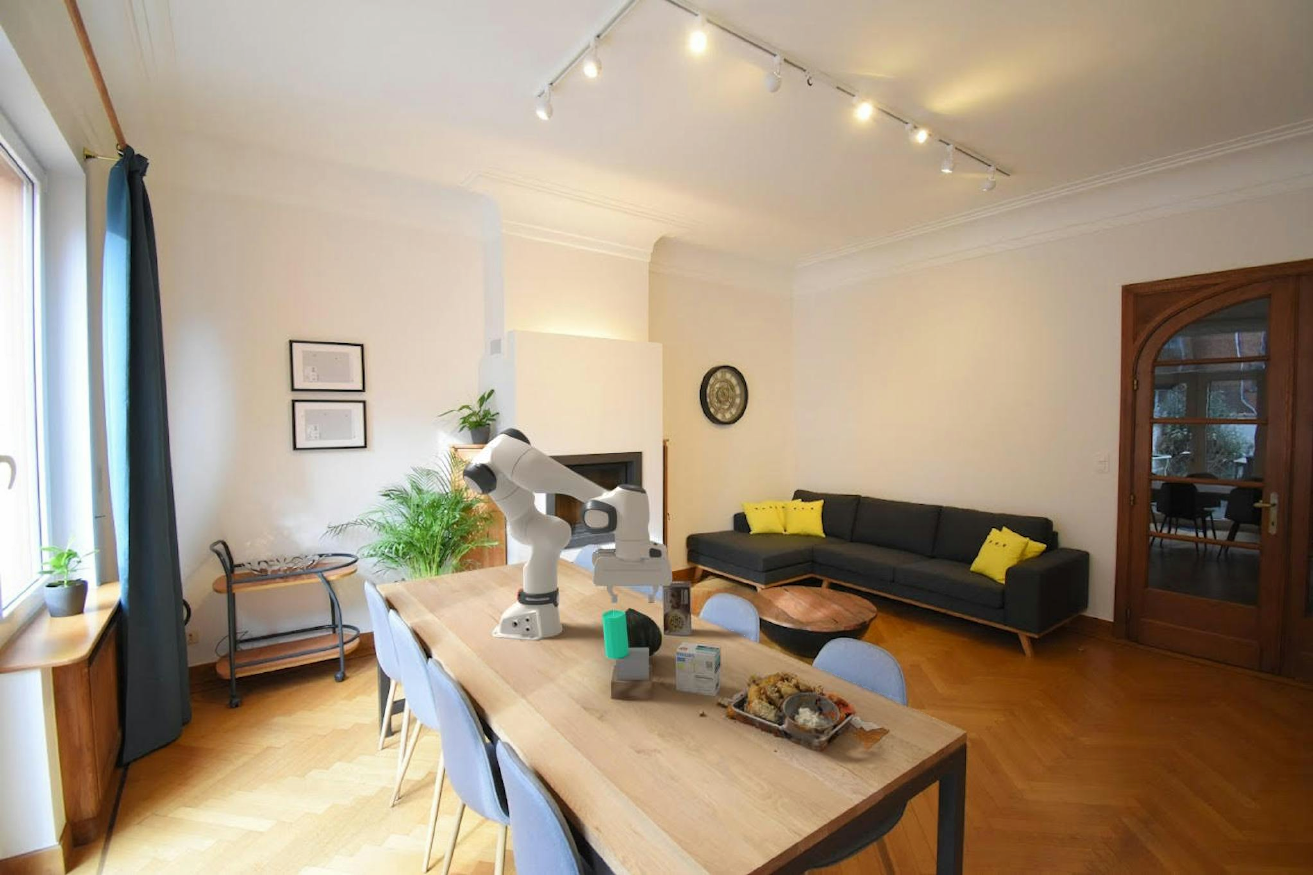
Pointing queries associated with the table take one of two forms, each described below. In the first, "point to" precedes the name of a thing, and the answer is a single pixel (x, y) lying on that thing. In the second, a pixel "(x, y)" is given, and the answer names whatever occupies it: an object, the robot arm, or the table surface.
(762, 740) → the table surface
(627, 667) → the tower top block
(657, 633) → the squash
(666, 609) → the coffee box
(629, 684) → the tower base block
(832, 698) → the food tray
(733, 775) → the table surface
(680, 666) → the light bulb box
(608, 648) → the candle
